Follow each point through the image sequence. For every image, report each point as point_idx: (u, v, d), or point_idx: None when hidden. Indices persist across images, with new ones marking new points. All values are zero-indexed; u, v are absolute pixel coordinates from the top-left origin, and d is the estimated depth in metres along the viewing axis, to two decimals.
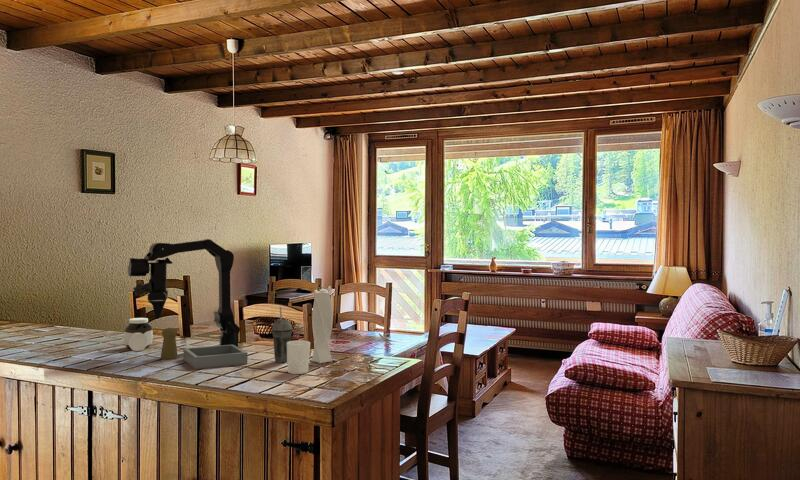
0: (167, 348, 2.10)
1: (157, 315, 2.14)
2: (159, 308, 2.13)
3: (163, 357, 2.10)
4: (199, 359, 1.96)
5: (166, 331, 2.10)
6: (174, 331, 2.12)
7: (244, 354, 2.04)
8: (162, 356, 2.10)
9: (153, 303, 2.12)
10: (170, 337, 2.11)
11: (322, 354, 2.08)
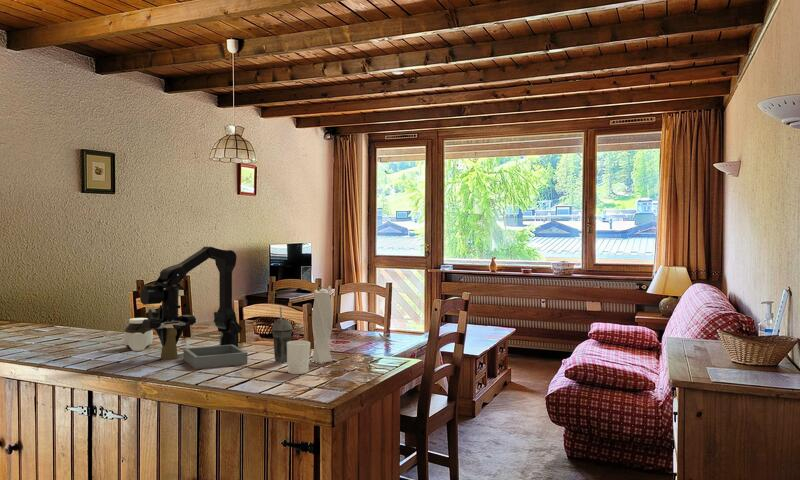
0: (167, 348, 2.10)
1: (162, 343, 2.10)
2: (161, 335, 2.09)
3: (163, 357, 2.10)
4: (199, 359, 1.96)
5: None
6: (174, 331, 2.12)
7: (244, 354, 2.04)
8: (162, 356, 2.10)
9: (156, 329, 2.10)
10: (170, 337, 2.11)
11: (322, 354, 2.08)
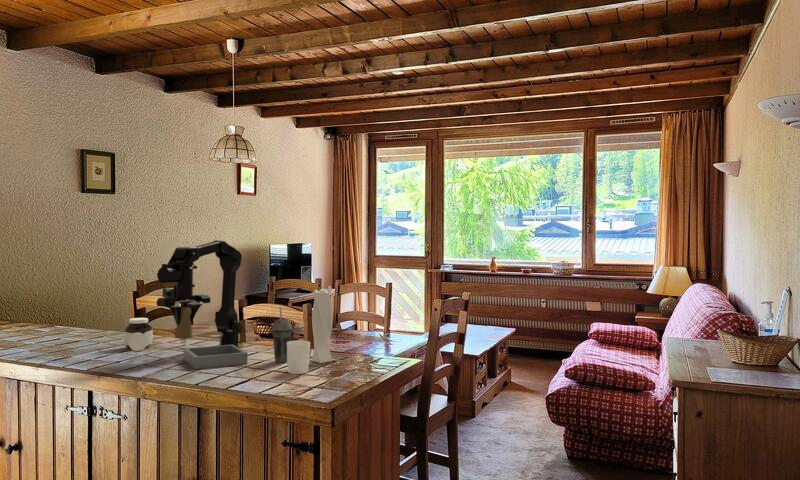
0: (181, 327, 2.09)
1: (177, 322, 2.09)
2: (176, 314, 2.08)
3: (178, 336, 2.08)
4: (199, 359, 1.96)
5: None
6: (188, 310, 2.10)
7: (244, 354, 2.04)
8: (177, 335, 2.09)
9: (171, 308, 2.08)
10: (184, 316, 2.09)
11: (322, 354, 2.08)
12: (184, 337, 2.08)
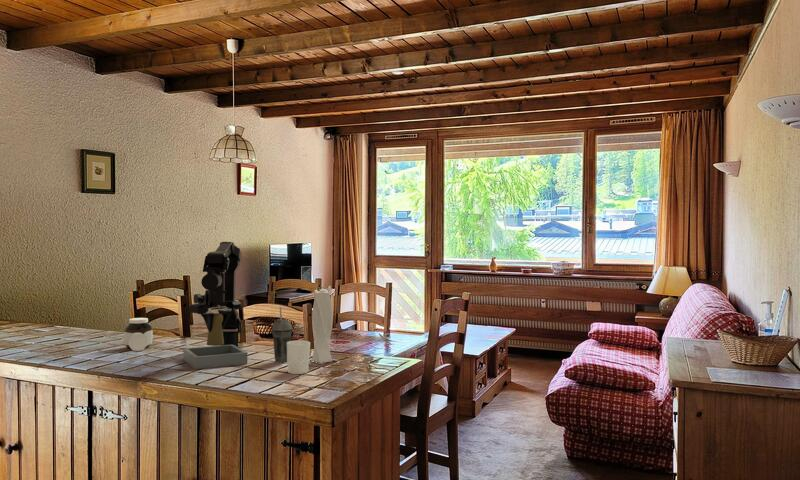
0: (213, 334, 2.05)
1: (209, 328, 2.05)
2: (208, 321, 2.04)
3: (210, 343, 2.05)
4: (199, 359, 1.96)
5: None
6: (221, 316, 2.07)
7: (244, 354, 2.04)
8: (209, 342, 2.05)
9: (203, 315, 2.05)
10: (217, 323, 2.06)
11: (322, 354, 2.08)
12: (216, 344, 2.05)
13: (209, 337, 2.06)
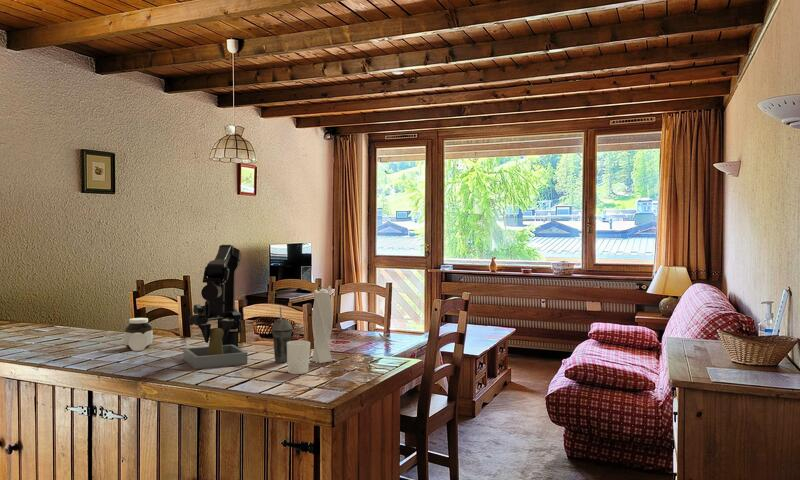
0: (213, 348, 2.05)
1: (206, 339, 2.04)
2: (205, 332, 2.03)
3: None
4: (199, 359, 1.96)
5: (213, 331, 2.05)
6: (221, 331, 2.07)
7: (244, 354, 2.04)
8: None
9: (200, 326, 2.04)
10: (217, 338, 2.06)
11: (322, 354, 2.08)
12: None
13: (209, 351, 2.06)
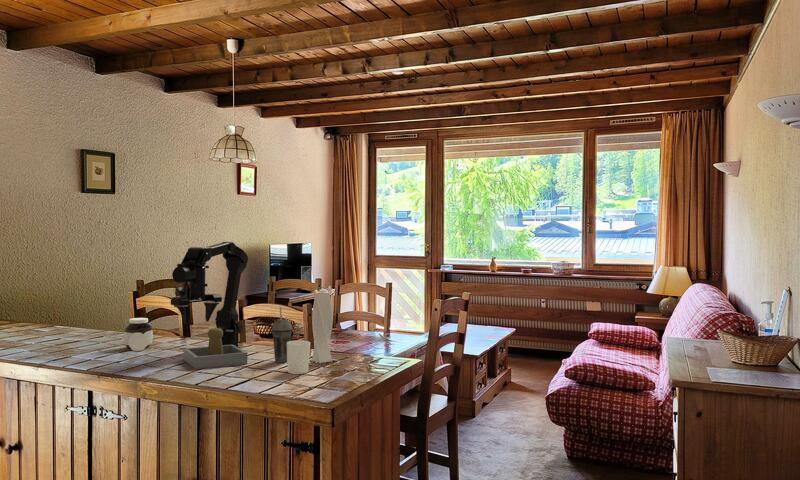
0: (213, 349, 2.05)
1: (185, 321, 2.10)
2: (184, 314, 2.09)
3: None
4: (199, 359, 1.96)
5: (212, 331, 2.05)
6: (220, 331, 2.07)
7: (244, 354, 2.04)
8: None
9: (179, 308, 2.10)
10: (216, 338, 2.06)
11: (322, 354, 2.08)
12: None
13: (209, 352, 2.06)
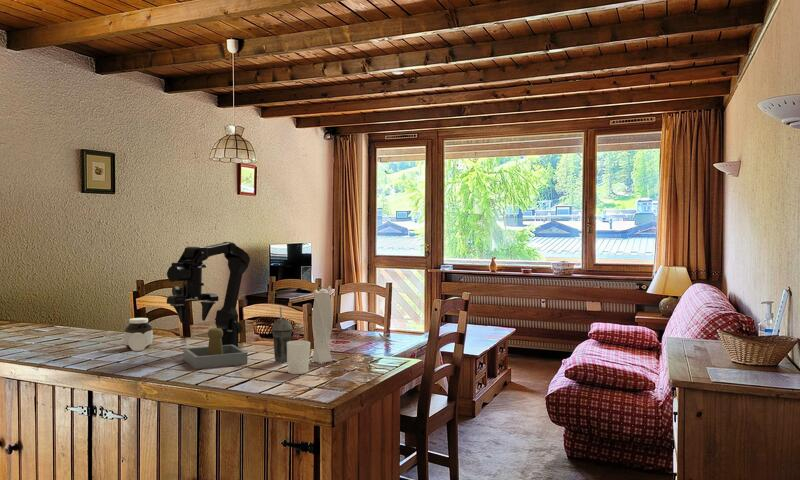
0: (213, 349, 2.05)
1: (181, 320, 2.12)
2: (180, 312, 2.11)
3: None
4: (199, 359, 1.96)
5: (212, 331, 2.05)
6: (220, 331, 2.07)
7: (244, 354, 2.04)
8: None
9: (175, 307, 2.11)
10: (216, 338, 2.06)
11: (322, 354, 2.08)
12: None
13: (209, 352, 2.06)
